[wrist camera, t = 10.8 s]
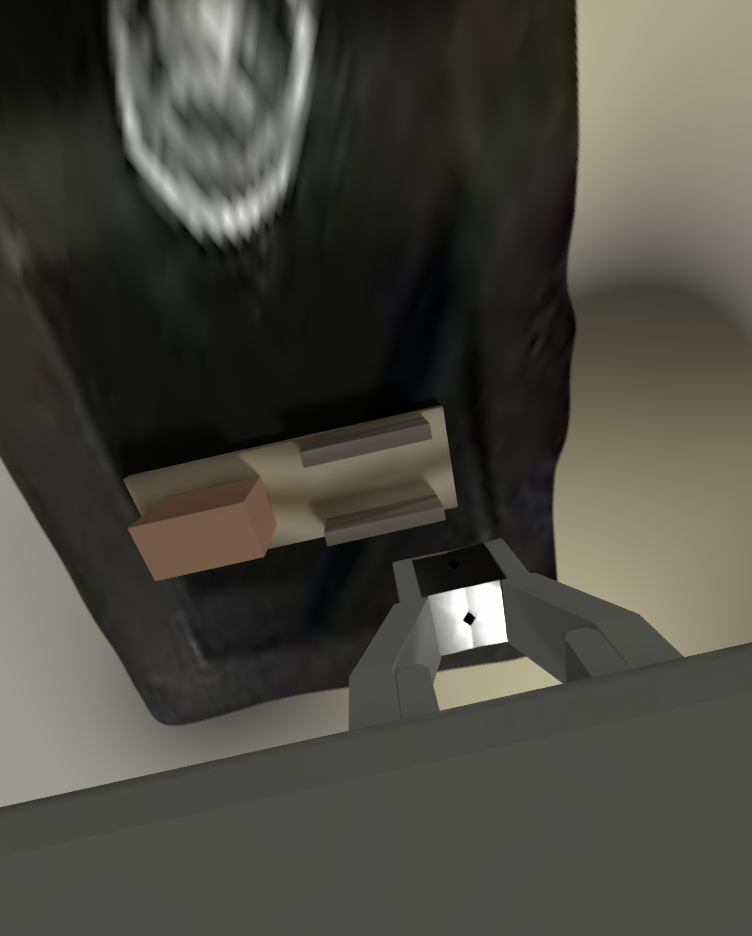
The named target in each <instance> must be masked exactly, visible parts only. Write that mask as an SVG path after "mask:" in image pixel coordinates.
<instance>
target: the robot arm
mask: <svg viewBox="0 0 752 936" xmlns="http://www.w3.org/2000/svg"><path fill="white" fill-rule="evenodd" d="M393 569H394V575H395V580H396V586H397V591H398V596H399V602H400V603H397V604H394V606H393V607H392V609H391V611H390V612H389V614H388V615H387V617H386V619H385V620H384V622H383V624H382V625H381V627H380V628H379V630H378V632H377V633H376V635H375V637H374V638H373V640H372V641H371V643H370V645H369V646H368V648H367V650H366V651H365V653H364V654H363V656H362V658H361V659H360V661H359V663H358V664H357V666H356V668H355V669H354V671H353V672H352V674H351V676H350V677H349V731H346V732H342V733H337V734H332V735H328V736H323V737H319V738H314V739H310V740H305V741H301V742H296V743H291V744H287V745H282V746H278V747H273V748H269V749H264V750H260V751H255V752H251V753H246V754H241V755H237V756H232V757H228V758H223V759H219V760H214V761H210V762H205V763H200V764H196V765H192V766H187V767H182V768H178V769H173V770H168V771H164V772H159V773H155V774H150V775H146V776H141V777H137V778H132V779H128V780H123V781H118V782H114V783H109V784H105V785H100V786H96V787H91V788H87V789H82V790H77V791H73V792H69V793H64V794H59V795H55V796H50V797H46V798H41V799H36V800H32V801H27V802H23V803H18V804H13V805H9V806H4V807H0V936H752V642H751V643H747V644H743V645H738V646H734V647H729V648H724V649H720V650H716V651H711V652H706V653H702V654H697V655H693V656H688V657H683V656H682V655H681V654H680V653H679V652H678V651H677V650H676V649H675V648H674V647H673V646H672V645H671V644H670V643H669V642H668V641H667V640H666V639H665V638H663V637H662V636H661V635H660V634H659V633H658V632H657V631H656V630H655V629H654V628H653V627H652V626H651V625H650V624H649V623H648V622H647V621H646V620H645V619H643V617H641V616H640V615H639V614H637V613H635V612H632V611H630V610H627V609H625V608H622V607H619V606H617V605H615V604H612V603H610V602H607V601H605V600H602V599H599V598H597V597H595V596H592V595H589V594H587V593H584V592H582V591H580V590H577V589H574V588H572V587H570V586H567V585H565V584H562V583H560V582H557V581H555V580H552V579H550V578H547V577H545V576H542V575H539V574H537V573H532V574H529V572H528V571H527V570H526V569H525V567H524V566H523V565H522V563H521V562H520V561H519V560H518V558H517V557H516V556H515V554H514V553H513V552H512V551H511V549H510V548H509V547H508V545H507V544H506V543H505V542H504V540H503V539H500V538H499V539H495V540H491V541H487V542H483V543H481V544H477V545H473V546H469V547H464V548H460V549H456V550H452V551H448V552H447V551H446V552H441V553H436V554H431V555H426V556H421V557H416V558H411V559H406V560H402V561H397V562H393ZM505 641H508V643H509V644H511V645H512V646H513V647H515V648H516V649H517V650H519V651H520V652H521V653H523V654H524V655H525V656H527V657H528V658H529V659H531V660H532V661H534V662H535V663H536V664H537V665H539V666H540V667H542V668H543V669H544V670H546V671H547V672H548V673H550V674H551V675H552V676H554V677H555V678H556V679H558V680H559V681H560V682H562V683H563V684H560V685H555V686H550V687H546V688H541V689H537V690H532V691H528V692H524V693H519V694H514V695H510V696H505V697H501V698H496V699H492V700H487V701H482V702H478V703H474V704H469V705H464V706H460V707H455V708H451V709H446V710H442V711H439V707H438V703H437V699H436V695H435V691H434V687H433V683H434V680H435V676H436V673H437V670H438V666H439V663H440V660H441V656H442V655H446V654H450V653H454V652H458V651H462V650H466V649H470V648H474V647H479V646H484V645H490V644H495V643H500V642H505Z"/></svg>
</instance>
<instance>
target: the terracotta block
mask: <svg viewBox="0 0 752 936" xmlns="http://www.w3.org/2000/svg"><path fill="white" fill-rule="evenodd" d="M276 526H277V522H276V520H275V517H274V514H273V511H272V508H271V505H270V503H269V500H268V497H267V494H266V491H265V489H264V486H263V483H262V480H261V477H256V478H252V479H247V480H243V481H238V482H234V483H230V484H225V485H221V486H216V487H212V488H207V489H203V490H199V491H194V492H190V493H185V494H181V495H176V496H172V497H168V498H163V499H162V500H161V501H159V502H158V503H157V504H156V505H155V506H153V507H152V508H151V509H150V510H149V511H148V512H146V513H145V514H144V515H143V516H142V517H140V518H139V519H138V520H137V521H136V522H134V523H133V524H132V525H131V526H130V527H129V528H128V530H129V532H130V534H131V536H132V538H133V540H134V542H135V544H136V545H137V547H138V549H139V551H140V553H141V555H142V557H143V559H144V561H145V563H146V565H147V566H148V568H149V570H150V572H151V574H152V576H153V578H154V580H155V581H158V580H162V579H167V578H171V577H176V576H180V575H185V574H189V573H194V572H198V571H203V570H207V569H212V568H216V567H221V566H225V565H230V564H234V563H239V562H243V561H247V560H252V559H256V558H261V557H264V556H265V553H266V551H267V548H268V546H269V543H270V541H271V538H272V536H273V533H274V531H275V528H276Z"/></svg>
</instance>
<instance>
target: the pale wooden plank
mask: <svg viewBox="0 0 752 936" xmlns="http://www.w3.org/2000/svg"><path fill="white" fill-rule="evenodd" d="M256 477H261V480H262V483H263V486H264V489H265V491H266V494H267V497H268V500H269V503H270V505H271V508H272V511H273V514H274V517H275V520H276V522H277V526H276V528H275V531H274V533H273V536H272V538H271V541H270V543H269V546H268V548H267V549H270V548H275V547H279V546H284V545H288V544H293V543H297V542H302V541H306V540H310V539H315V538H319V537H324V536H325V539H326V542H327V545H328V546H331V545H335V544H340V543H344V542H349V541H353V540H358V539H362V538H367V537H371V536H376V535H380V534H385V533H389V532H394V531H398V530H403V529H407V528H411V527H416V526H420V525H425V524H429V523H434V522H438V521H443V520H446V519H445V513H444V510H445V509H449V508H454V507H458V506H457V500H456V493H455V486H454V480H453V473H452V466H451V460H450V453H449V446H448V439H447V433H446V426H445V419H444V413H443V407H442V406H441V405H439V406H434V407H430V408H426V409H421V410H417V411H412V412H408V413H404V414H399V415H395V416H390V417H386V418H381V419H377V420H373V421H368V422H364V423H359V424H355V425H351V426H346V427H342V428H337V429H333V430H329V431H324V432H320V433H315V434H311V435H306V436H302V437H298V438H293V439H289V440H284V441H280V442H276V443H271V444H267V445H262V446H258V447H254V448H249V449H245V450H240V451H236V452H231V453H227V454H223V455H218V456H214V457H209V458H205V459H201V460H196V461H192V462H187V463H183V464H179V465H174V466H170V467H165V468H161V469H156V470H152V471H148V472H143V473H139V474H134V475H130V476H128V477H126V478H124V479H123V480H124V482H125V484H126V486H127V488H128V490H129V492H130V494H131V496H132V498H133V500H134V502H135V504H136V506H137V508H138V510H139V512H140V514H141V516H143V515H144V514H145V513H146V512H148V511H149V510H150V509H151V508H152V507H153V506H155V505H156V504H157V503H158V502H159V501H161V500H162V499H163V498H168V497H172V496H176V495H181V494H185V493H190V492H194V491H199V490H203V489H207V488H212V487H216V486H221V485H225V484H230V483H234V482H238V481H243V480H247V479H252V478H256Z"/></svg>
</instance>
